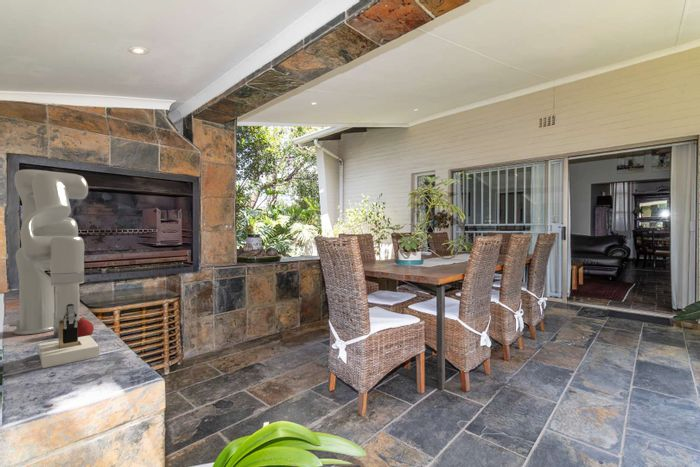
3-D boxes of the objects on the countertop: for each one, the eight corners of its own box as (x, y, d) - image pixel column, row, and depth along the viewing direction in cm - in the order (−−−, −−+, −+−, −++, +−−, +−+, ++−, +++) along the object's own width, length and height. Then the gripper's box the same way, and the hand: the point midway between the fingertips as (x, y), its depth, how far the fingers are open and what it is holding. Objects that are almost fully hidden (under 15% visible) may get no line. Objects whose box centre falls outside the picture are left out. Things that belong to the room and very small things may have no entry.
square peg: (58, 355, 100) (58, 320, 100) (76, 352, 103) (76, 318, 103) (60, 358, 97) (59, 323, 97) (78, 355, 100) (77, 320, 100)
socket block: (39, 354, 102) (39, 343, 102) (90, 344, 110) (89, 335, 110) (42, 368, 90) (42, 356, 90) (98, 356, 99) (98, 345, 99)
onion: (84, 344, 111) (83, 319, 111) (66, 344, 111) (66, 319, 111) (97, 338, 117) (97, 314, 117) (80, 339, 117) (80, 315, 117)
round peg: (48, 337, 120) (48, 314, 120) (63, 332, 126) (62, 310, 126) (69, 336, 120) (68, 313, 120) (82, 331, 127) (82, 309, 127)
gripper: (48, 278, 104) (48, 336, 104) (53, 282, 92) (53, 348, 91) (80, 275, 109) (80, 331, 109) (88, 279, 97) (89, 342, 97)
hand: (68, 338), depth 100 cm, fingers open, 9 cm apart
